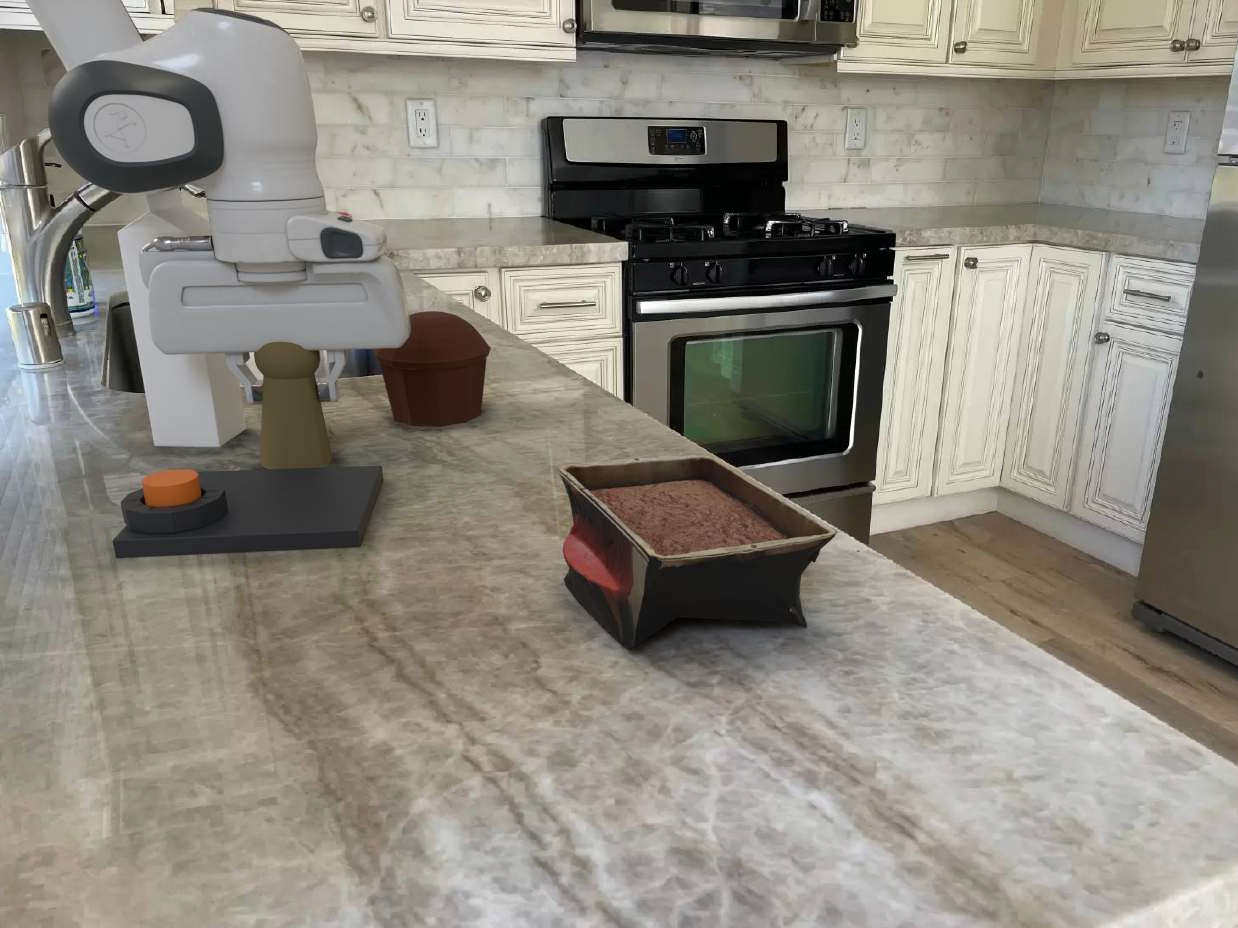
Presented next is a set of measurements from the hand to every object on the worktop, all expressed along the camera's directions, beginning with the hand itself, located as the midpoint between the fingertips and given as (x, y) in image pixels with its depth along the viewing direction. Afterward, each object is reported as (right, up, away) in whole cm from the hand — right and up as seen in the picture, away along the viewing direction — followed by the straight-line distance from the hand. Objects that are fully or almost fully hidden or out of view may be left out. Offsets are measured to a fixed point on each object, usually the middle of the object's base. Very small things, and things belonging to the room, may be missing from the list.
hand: (295, 401), depth 86 cm
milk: (-12, -3, +8) cm, 14 cm away
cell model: (-44, +44, +125) cm, 140 cm away
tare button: (-3, -9, -15) cm, 17 cm away
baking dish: (+33, -15, -23) cm, 43 cm away
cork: (0, -5, +2) cm, 5 cm away
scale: (+1, -10, -10) cm, 14 cm away
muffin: (+8, 0, +16) cm, 18 cm away
